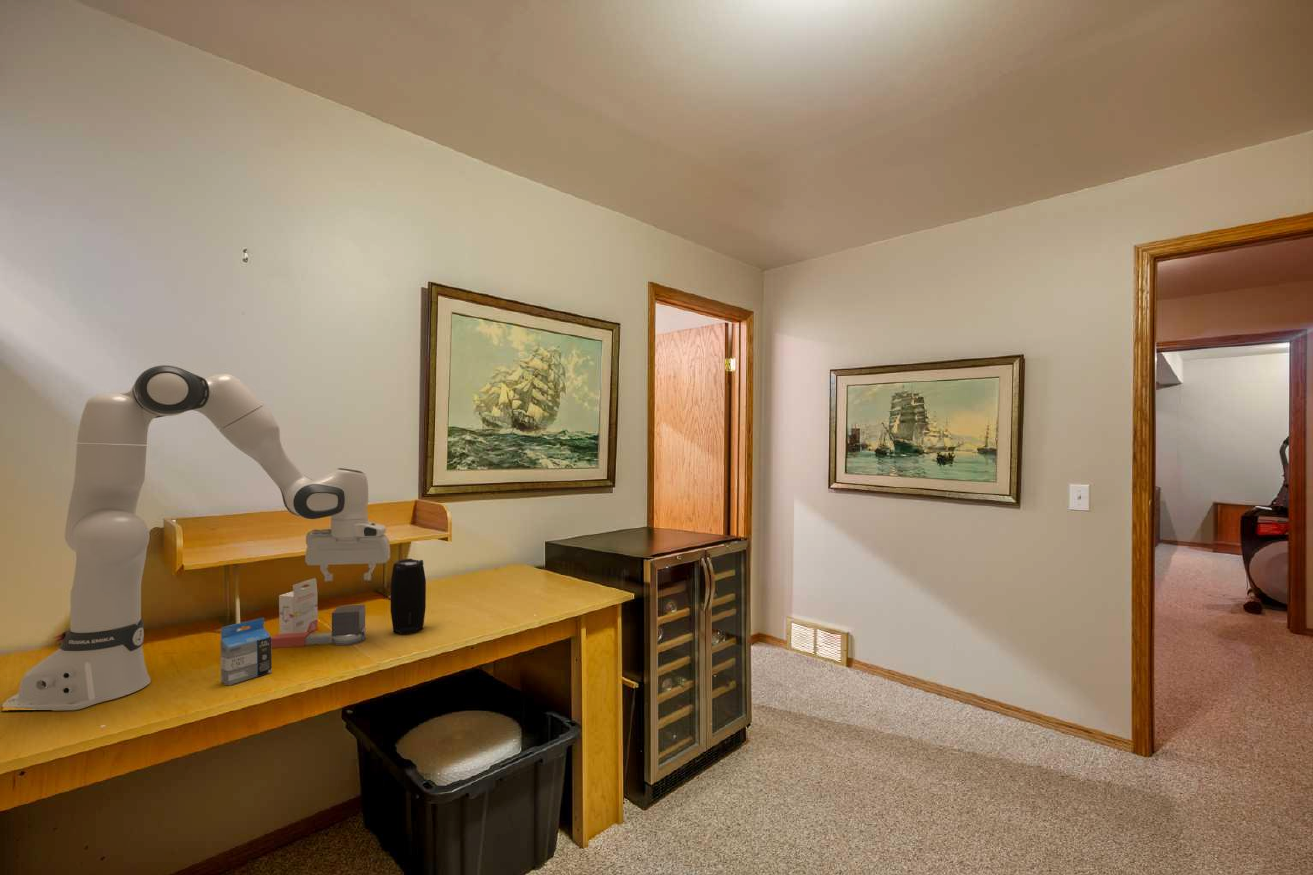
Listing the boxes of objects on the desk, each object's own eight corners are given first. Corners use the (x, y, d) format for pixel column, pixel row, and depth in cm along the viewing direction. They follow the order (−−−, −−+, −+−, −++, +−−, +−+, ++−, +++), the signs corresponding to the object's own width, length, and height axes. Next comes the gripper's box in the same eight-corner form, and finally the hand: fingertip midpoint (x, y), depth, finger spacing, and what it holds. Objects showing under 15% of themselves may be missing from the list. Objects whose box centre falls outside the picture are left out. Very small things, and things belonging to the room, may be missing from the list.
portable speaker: (396, 626, 169) (396, 558, 169) (429, 625, 170) (430, 557, 170) (385, 636, 160) (385, 564, 160) (420, 635, 161) (421, 564, 161)
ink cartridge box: (303, 628, 166) (303, 576, 166) (318, 629, 166) (318, 577, 165) (278, 638, 158) (278, 583, 158) (293, 639, 157) (293, 584, 157)
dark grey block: (331, 636, 153) (331, 613, 153) (338, 627, 159) (338, 605, 159) (359, 634, 154) (359, 611, 154) (365, 626, 161) (365, 604, 161)
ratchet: (267, 651, 148) (267, 625, 148) (279, 640, 156) (279, 616, 156) (361, 644, 154) (361, 619, 154) (368, 634, 161) (369, 610, 161)
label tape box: (228, 686, 128) (228, 630, 128) (219, 682, 130) (220, 627, 130) (272, 673, 135) (272, 619, 135) (263, 669, 137) (263, 616, 137)
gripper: (301, 531, 151) (300, 584, 151) (387, 529, 156) (386, 581, 156) (310, 527, 157) (308, 579, 157) (392, 526, 162) (391, 576, 162)
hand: (348, 580), depth 156 cm, fingers open, 8 cm apart
